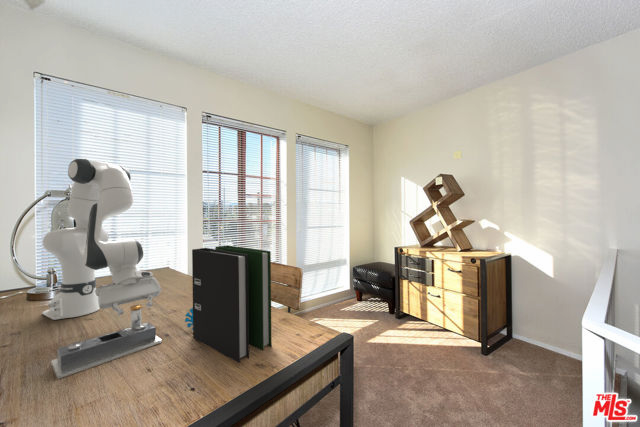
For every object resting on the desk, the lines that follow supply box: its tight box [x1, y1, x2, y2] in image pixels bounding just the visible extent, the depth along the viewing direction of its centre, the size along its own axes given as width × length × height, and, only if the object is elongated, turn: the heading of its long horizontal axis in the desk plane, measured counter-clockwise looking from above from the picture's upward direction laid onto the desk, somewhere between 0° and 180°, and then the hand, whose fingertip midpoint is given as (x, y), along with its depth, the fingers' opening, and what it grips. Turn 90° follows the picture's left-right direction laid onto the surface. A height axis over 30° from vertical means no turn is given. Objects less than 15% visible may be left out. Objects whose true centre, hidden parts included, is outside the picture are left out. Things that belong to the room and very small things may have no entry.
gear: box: [184, 307, 193, 331], centre depth 106 cm, size 11×6×10 cm
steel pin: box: [129, 304, 143, 327], centre depth 101 cm, size 4×4×10 cm
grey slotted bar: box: [51, 322, 163, 380], centre depth 86 cm, size 26×12×6 cm, turn 141°
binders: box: [191, 245, 273, 364], centre depth 93 cm, size 27×15×32 cm, turn 51°
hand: (136, 310), depth 102 cm, fingers open, 8 cm apart
